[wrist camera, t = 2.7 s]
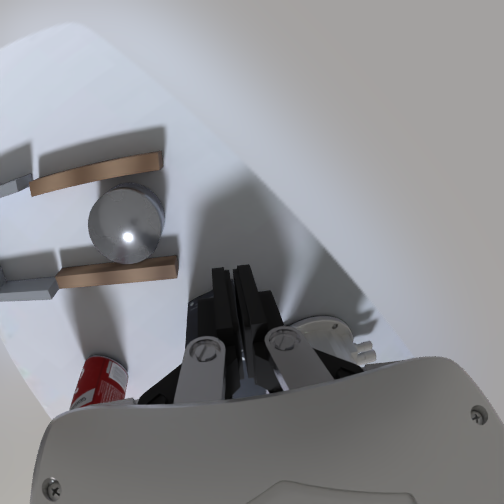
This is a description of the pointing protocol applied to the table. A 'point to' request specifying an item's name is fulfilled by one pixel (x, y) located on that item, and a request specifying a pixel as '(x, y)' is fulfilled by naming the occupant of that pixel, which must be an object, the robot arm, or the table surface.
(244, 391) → the small box
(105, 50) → the table surface
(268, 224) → the table surface
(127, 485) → the robot arm
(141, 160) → the walnut slot
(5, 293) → the grey u-shaped frame
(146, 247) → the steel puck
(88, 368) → the soda can
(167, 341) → the table surface
